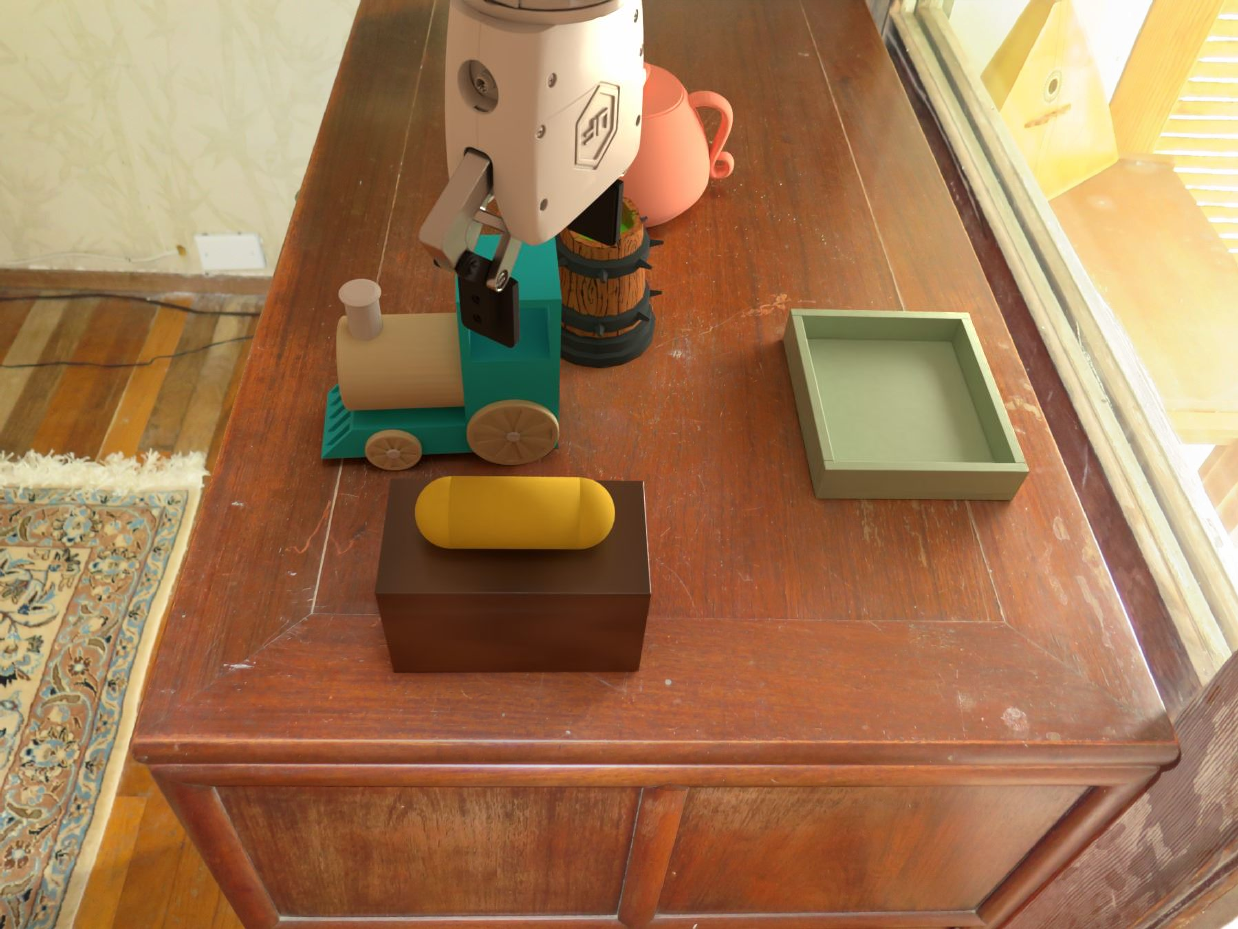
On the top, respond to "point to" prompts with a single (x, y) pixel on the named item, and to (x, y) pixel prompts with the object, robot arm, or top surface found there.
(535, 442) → the toy train
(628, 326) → the mug
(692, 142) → the teapot
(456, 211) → the robot arm
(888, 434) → the tray
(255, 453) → the top surface
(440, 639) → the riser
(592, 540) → the yellow capsule toy
